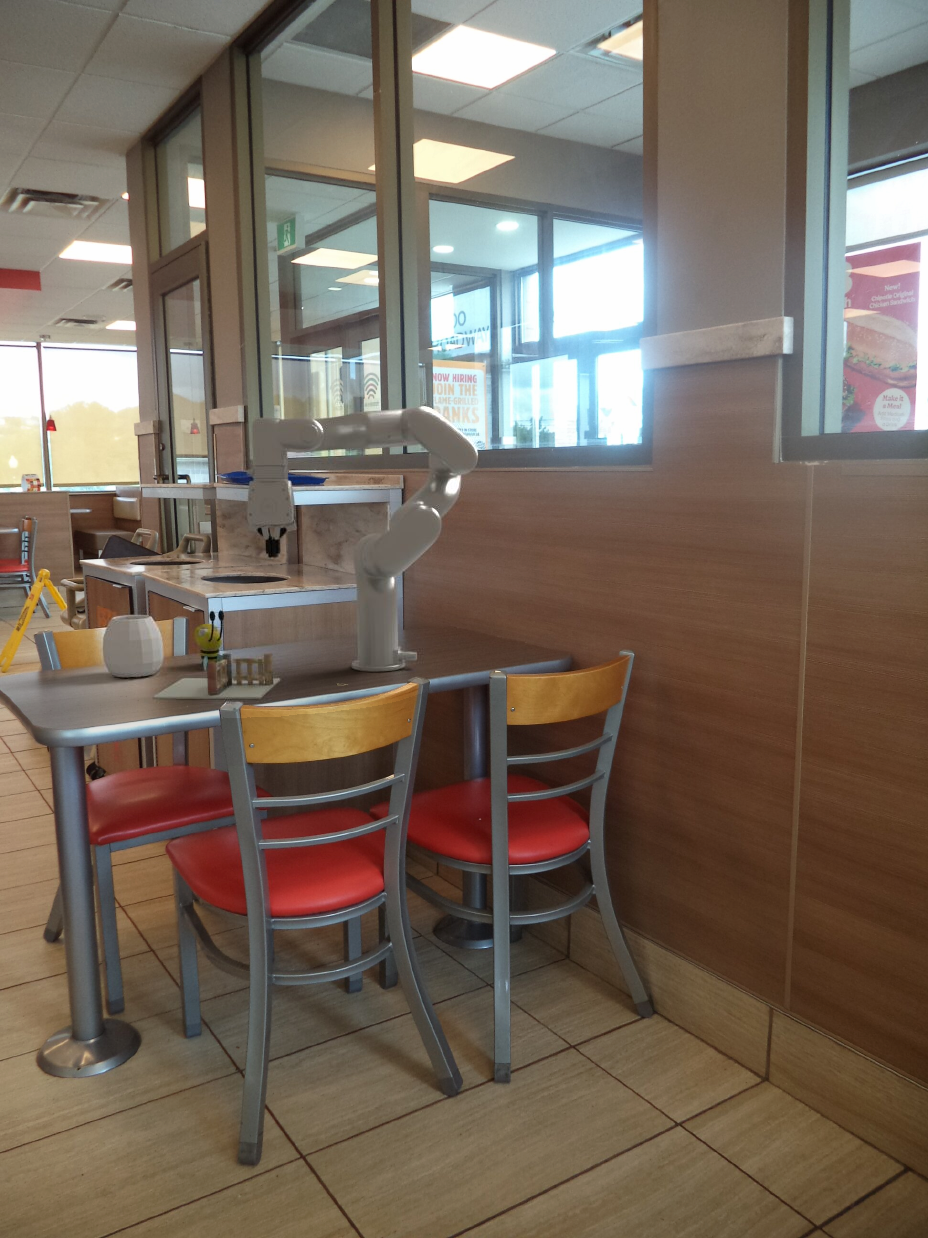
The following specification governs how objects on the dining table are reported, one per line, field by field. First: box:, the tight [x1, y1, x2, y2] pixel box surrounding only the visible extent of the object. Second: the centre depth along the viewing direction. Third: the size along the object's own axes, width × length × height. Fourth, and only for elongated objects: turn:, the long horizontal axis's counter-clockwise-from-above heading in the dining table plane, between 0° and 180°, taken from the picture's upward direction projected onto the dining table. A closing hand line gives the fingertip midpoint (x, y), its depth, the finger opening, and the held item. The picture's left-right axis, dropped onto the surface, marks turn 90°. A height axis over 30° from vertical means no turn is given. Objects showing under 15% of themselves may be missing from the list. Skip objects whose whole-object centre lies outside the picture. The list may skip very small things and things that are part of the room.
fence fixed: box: [221, 653, 274, 685], centre depth 208 cm, size 11×2×7 cm, turn 88°
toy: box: [193, 610, 225, 672], centre depth 230 cm, size 6×14×15 cm
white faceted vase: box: [102, 614, 164, 678], centre depth 221 cm, size 13×13×14 cm
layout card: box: [152, 677, 281, 700], centre depth 206 cm, size 22×19×1 cm
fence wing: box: [206, 659, 228, 694], centre depth 202 cm, size 10×2×6 cm, turn 177°
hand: (273, 556), depth 217 cm, fingers closed
